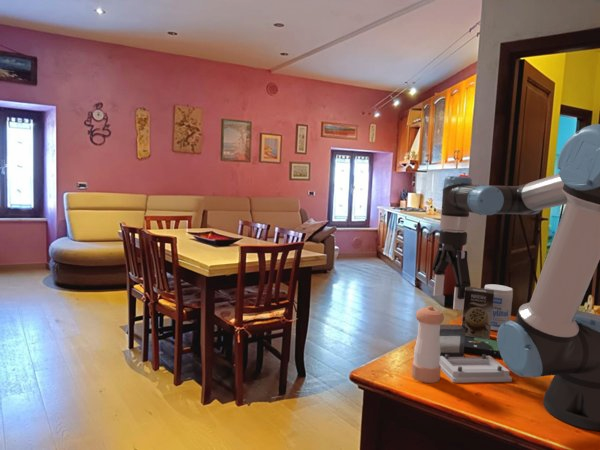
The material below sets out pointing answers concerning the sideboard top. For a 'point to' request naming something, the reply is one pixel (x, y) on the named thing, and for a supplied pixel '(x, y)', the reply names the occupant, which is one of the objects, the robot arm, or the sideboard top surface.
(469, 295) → the dark cardboard box
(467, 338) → the disk drive
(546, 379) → the sideboard top surface
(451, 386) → the sideboard top surface
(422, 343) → the salt shaker
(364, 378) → the sideboard top surface
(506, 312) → the supplement tub
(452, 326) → the grey plastic case
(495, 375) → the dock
